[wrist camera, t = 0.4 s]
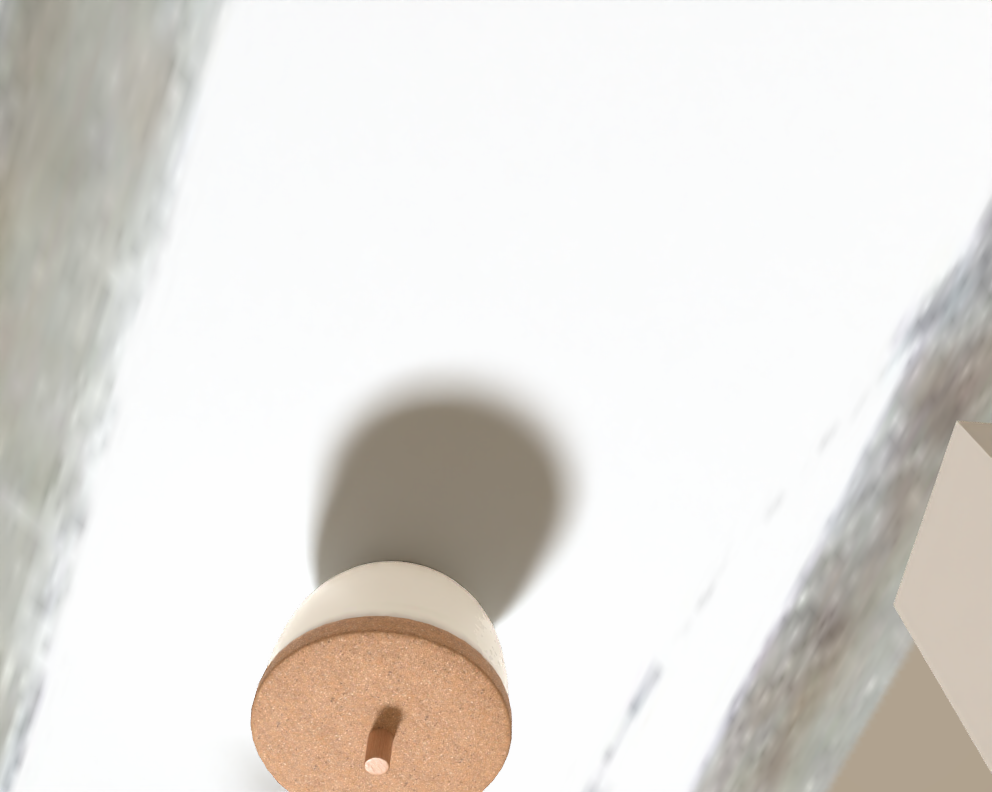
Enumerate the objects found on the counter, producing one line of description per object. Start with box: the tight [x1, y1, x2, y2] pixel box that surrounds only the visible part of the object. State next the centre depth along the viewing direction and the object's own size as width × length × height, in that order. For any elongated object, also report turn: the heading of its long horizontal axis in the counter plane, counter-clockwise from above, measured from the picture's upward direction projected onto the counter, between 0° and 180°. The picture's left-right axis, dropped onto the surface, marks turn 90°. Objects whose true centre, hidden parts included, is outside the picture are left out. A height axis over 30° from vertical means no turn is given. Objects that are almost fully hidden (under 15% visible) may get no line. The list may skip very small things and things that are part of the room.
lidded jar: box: [251, 561, 512, 792], centre depth 42 cm, size 11×11×9 cm
